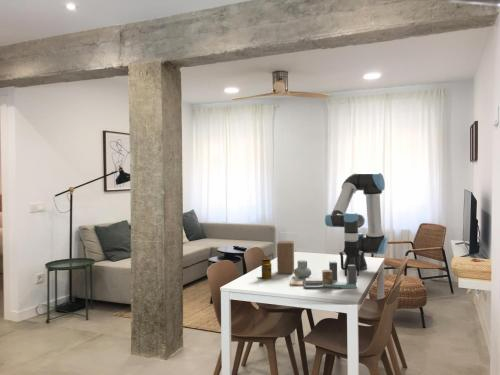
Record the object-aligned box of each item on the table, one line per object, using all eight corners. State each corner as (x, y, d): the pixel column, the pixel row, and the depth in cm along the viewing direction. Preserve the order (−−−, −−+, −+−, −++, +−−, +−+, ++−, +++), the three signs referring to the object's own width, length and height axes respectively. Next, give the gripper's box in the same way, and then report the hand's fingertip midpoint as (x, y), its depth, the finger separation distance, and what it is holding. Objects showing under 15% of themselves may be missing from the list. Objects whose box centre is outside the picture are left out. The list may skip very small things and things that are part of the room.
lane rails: (336, 280, 247) (336, 278, 247) (341, 288, 229) (341, 286, 229) (302, 280, 248) (302, 278, 248) (304, 288, 230) (304, 286, 230)
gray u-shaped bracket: (336, 281, 245) (335, 261, 245) (337, 283, 239) (337, 263, 239) (305, 281, 246) (305, 261, 246) (306, 283, 240) (305, 263, 240)
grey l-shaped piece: (354, 285, 236) (354, 264, 235) (356, 288, 230) (356, 266, 229) (322, 285, 237) (322, 264, 237) (323, 288, 231) (323, 266, 231)
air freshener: (292, 276, 261) (292, 260, 261) (304, 274, 265) (303, 259, 264) (300, 279, 251) (300, 263, 251) (312, 278, 254) (312, 262, 254)
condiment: (274, 278, 255) (273, 259, 255) (261, 280, 251) (261, 260, 251) (268, 276, 262) (268, 257, 261) (256, 278, 258) (256, 258, 258)
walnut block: (331, 282, 236) (331, 269, 236) (332, 284, 231) (332, 271, 231) (322, 282, 236) (322, 269, 236) (323, 284, 231) (323, 271, 231)
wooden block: (292, 274, 266) (292, 243, 265) (277, 274, 268) (276, 242, 267) (294, 270, 275) (293, 240, 275) (279, 270, 277) (278, 240, 277)
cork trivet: (302, 282, 244) (302, 281, 244) (303, 285, 237) (302, 284, 237) (290, 282, 244) (290, 281, 244) (290, 285, 237) (290, 284, 237)
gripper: (365, 239, 235) (366, 280, 236) (334, 239, 237) (335, 280, 237) (368, 241, 228) (368, 283, 228) (336, 241, 229) (337, 283, 230)
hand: (351, 282), depth 233 cm, fingers closed on grey l-shaped piece, 4 cm apart
